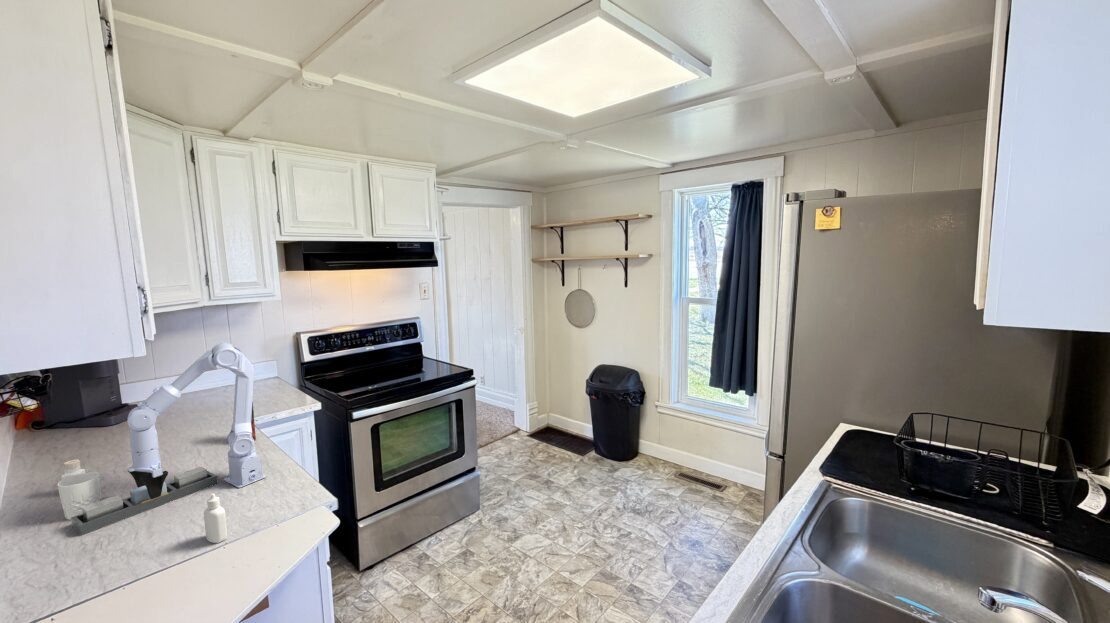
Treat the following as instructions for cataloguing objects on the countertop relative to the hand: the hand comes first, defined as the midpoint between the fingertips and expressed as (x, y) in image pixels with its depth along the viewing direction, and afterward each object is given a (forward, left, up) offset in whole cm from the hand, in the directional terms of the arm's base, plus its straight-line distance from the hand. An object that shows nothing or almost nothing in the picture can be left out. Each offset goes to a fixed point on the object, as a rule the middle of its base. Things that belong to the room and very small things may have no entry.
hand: (150, 493), depth 128 cm
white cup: (+10, +12, -3) cm, 16 cm away
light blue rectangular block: (0, 0, -2) cm, 2 cm away
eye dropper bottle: (-34, -2, -3) cm, 34 cm away
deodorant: (+23, -36, -3) cm, 43 cm away
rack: (0, 0, -3) cm, 3 cm away
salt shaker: (+27, +9, -3) cm, 29 cm away
